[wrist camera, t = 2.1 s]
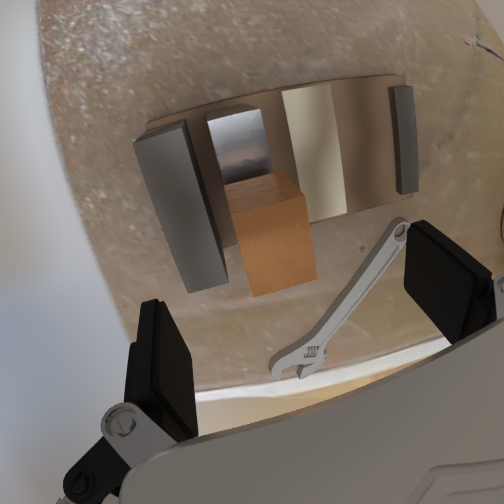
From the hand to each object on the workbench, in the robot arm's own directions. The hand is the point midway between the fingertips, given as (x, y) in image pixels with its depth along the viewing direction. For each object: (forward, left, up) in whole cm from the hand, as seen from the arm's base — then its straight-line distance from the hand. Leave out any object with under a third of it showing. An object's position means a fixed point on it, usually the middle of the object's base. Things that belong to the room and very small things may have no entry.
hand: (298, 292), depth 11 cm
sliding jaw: (0, 0, -15) cm, 15 cm away
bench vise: (-5, 0, -18) cm, 19 cm away
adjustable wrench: (-8, +20, -19) cm, 28 cm away
